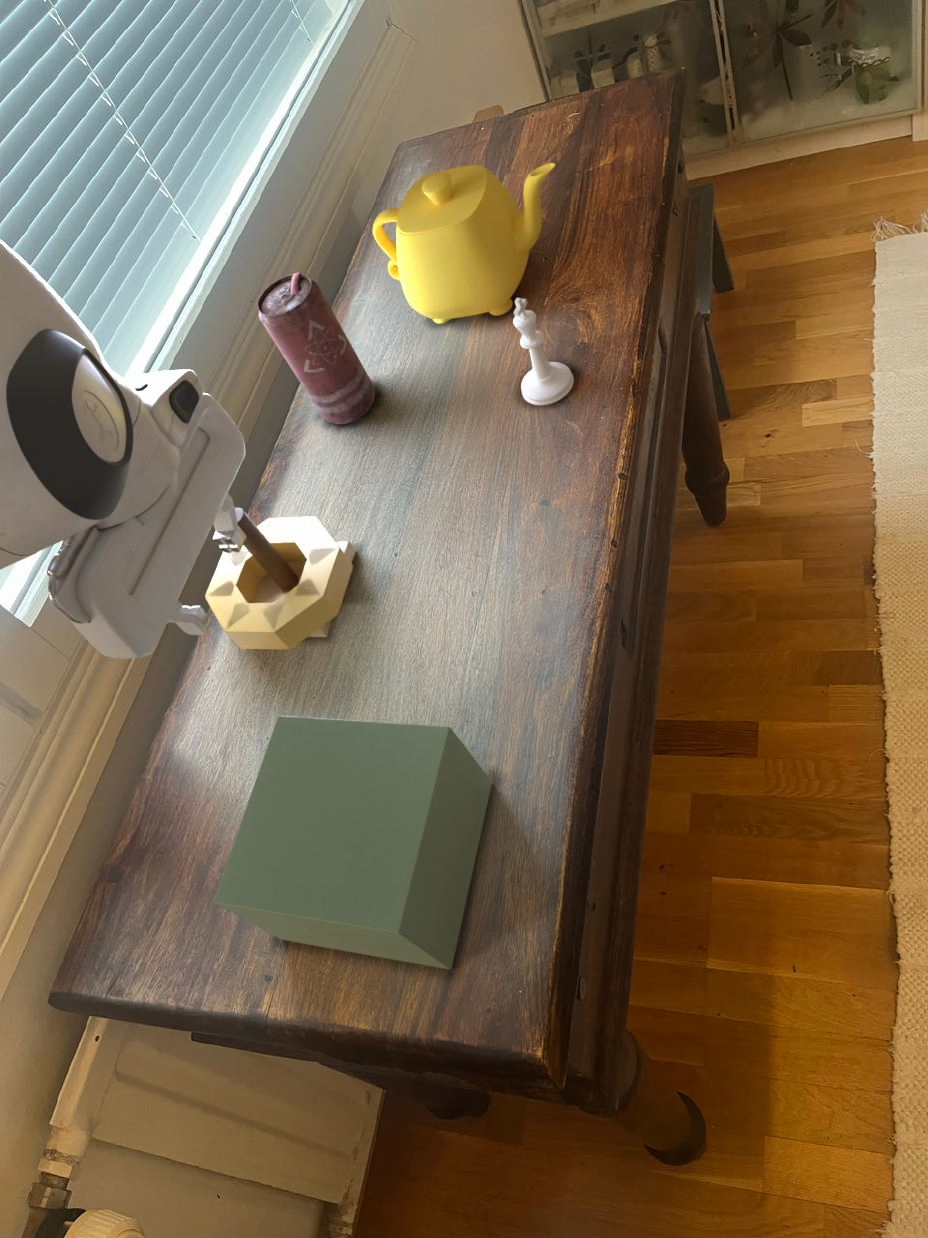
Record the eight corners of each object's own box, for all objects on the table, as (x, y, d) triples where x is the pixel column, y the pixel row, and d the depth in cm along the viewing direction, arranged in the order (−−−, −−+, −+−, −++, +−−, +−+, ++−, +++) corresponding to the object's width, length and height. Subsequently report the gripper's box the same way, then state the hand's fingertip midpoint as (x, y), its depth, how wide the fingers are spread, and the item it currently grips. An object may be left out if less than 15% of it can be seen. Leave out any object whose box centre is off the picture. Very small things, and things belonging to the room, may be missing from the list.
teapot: (417, 259, 104) (371, 154, 94) (592, 229, 96) (562, 112, 86) (389, 346, 97) (336, 243, 87) (575, 321, 90) (541, 204, 80)
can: (383, 376, 95) (322, 263, 84) (369, 423, 91) (304, 311, 80) (331, 384, 97) (265, 274, 86) (315, 429, 94) (245, 321, 83)
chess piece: (582, 369, 86) (555, 281, 78) (560, 408, 84) (531, 322, 76) (535, 364, 88) (505, 278, 80) (513, 402, 86) (480, 318, 78)
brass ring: (326, 650, 76) (311, 632, 73) (208, 648, 80) (190, 631, 78) (364, 534, 81) (350, 514, 79) (251, 537, 86) (236, 519, 84)
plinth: (451, 970, 60) (398, 933, 53) (281, 940, 65) (212, 902, 58) (492, 781, 66) (450, 726, 59) (334, 767, 71) (277, 715, 64)
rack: (327, 637, 78) (262, 562, 70) (239, 635, 82) (167, 563, 73) (356, 550, 83) (299, 469, 74) (271, 552, 86) (207, 475, 78)
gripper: (75, 590, 55) (202, 704, 65) (202, 353, 65) (294, 485, 76) (-2, 591, 57) (132, 700, 68) (133, 363, 68) (231, 489, 78)
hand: (218, 585), depth 72 cm, fingers open, 6 cm apart
